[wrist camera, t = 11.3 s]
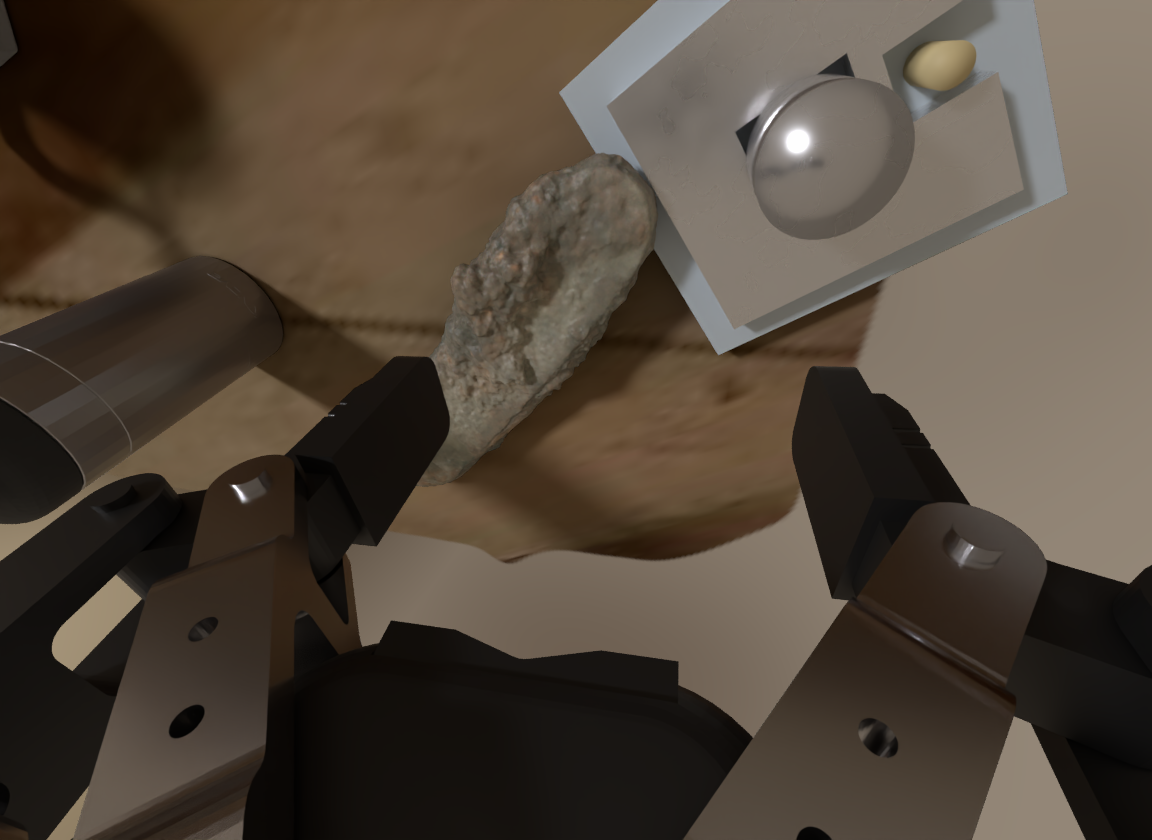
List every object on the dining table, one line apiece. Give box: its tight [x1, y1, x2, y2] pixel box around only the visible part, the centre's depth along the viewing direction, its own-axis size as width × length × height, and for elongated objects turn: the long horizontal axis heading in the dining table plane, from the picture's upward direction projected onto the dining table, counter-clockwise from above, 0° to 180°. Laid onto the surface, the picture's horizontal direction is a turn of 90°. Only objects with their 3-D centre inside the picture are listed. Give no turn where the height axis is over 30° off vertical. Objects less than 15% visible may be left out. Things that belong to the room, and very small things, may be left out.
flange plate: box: [607, 0, 1024, 329], centre depth 21 cm, size 14×14×7 cm
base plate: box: [559, 0, 1068, 355], centre depth 23 cm, size 18×18×4 cm
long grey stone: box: [416, 153, 658, 487], centre depth 35 cm, size 35×5×10 cm
